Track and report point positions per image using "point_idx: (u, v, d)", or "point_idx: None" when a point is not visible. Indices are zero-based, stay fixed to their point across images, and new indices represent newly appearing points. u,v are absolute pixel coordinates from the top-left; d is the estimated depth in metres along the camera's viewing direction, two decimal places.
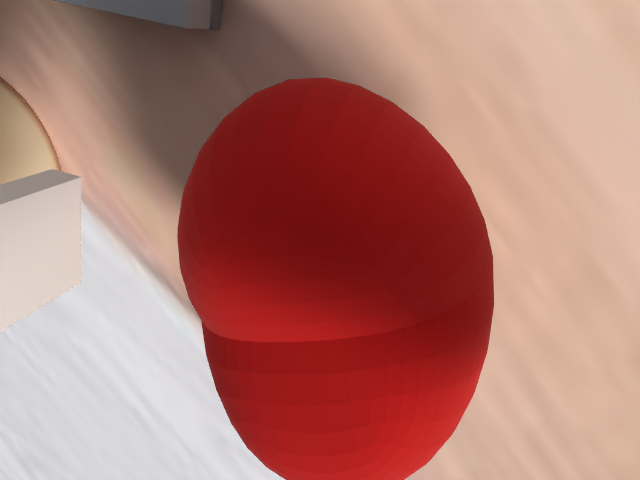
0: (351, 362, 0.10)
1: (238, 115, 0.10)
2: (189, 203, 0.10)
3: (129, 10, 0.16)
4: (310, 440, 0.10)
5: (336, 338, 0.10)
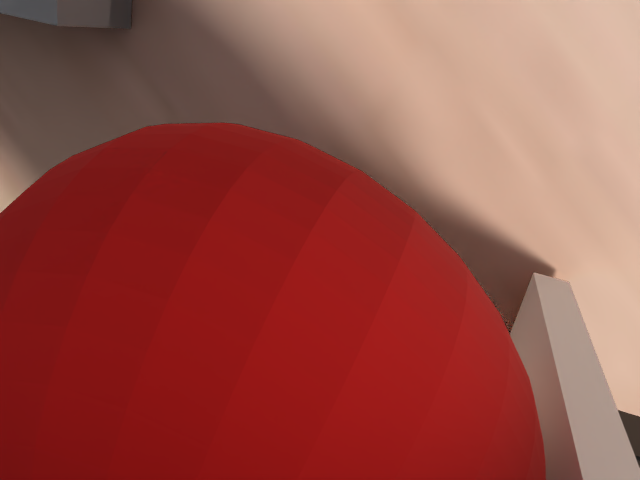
0: None
1: (3, 215, 0.04)
2: None
3: None
4: None
5: None
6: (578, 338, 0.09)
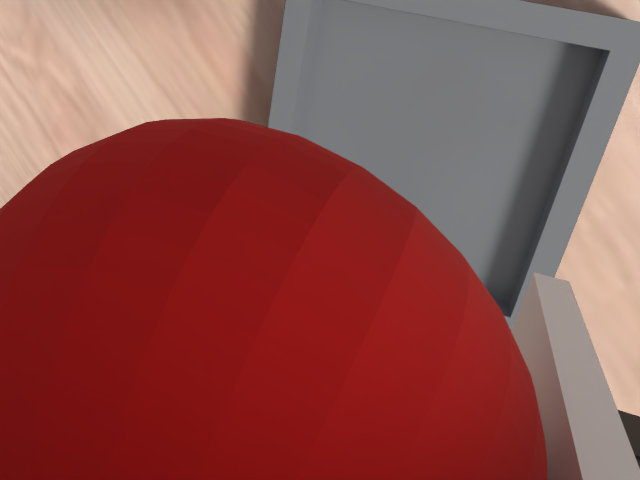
0: None
1: (3, 210, 0.04)
2: None
3: None
4: None
5: None
6: (578, 338, 0.09)
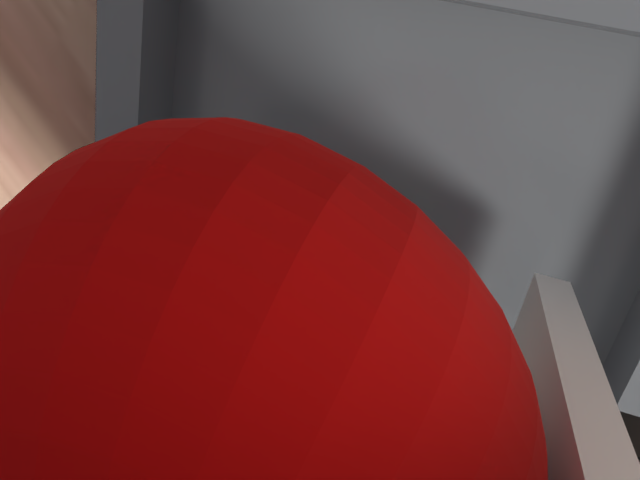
0: None
1: (7, 208, 0.04)
2: None
3: None
4: None
5: None
6: (580, 338, 0.09)
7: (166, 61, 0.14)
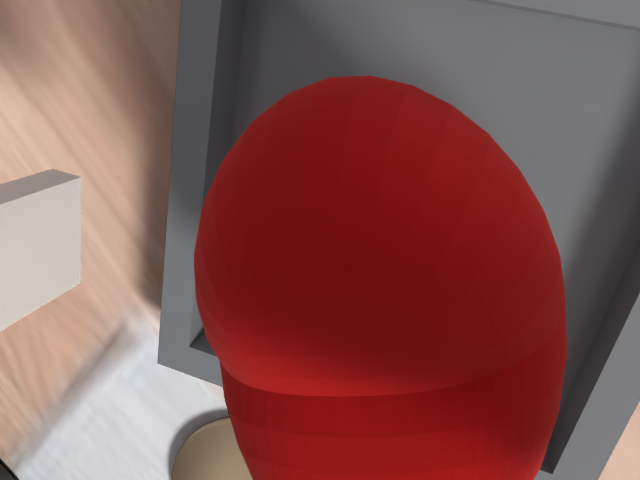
0: (409, 425, 0.08)
1: (270, 120, 0.08)
2: (211, 227, 0.08)
3: None
4: None
5: (389, 393, 0.08)
6: None
7: (234, 52, 0.16)
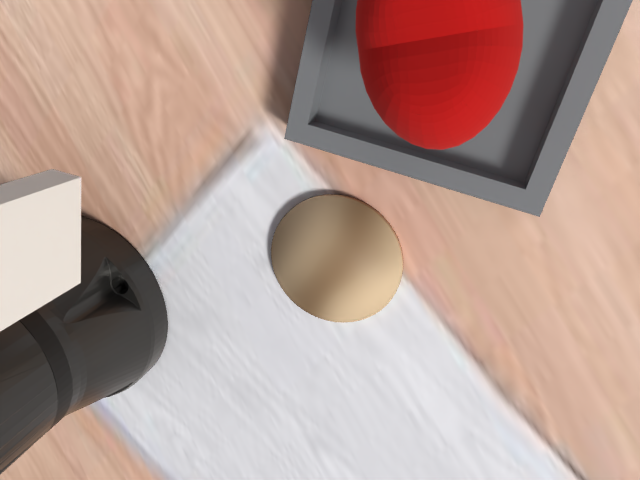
0: (450, 45, 0.20)
1: None
2: None
3: (507, 203, 0.29)
4: (426, 86, 0.20)
5: (443, 35, 0.20)
6: None
7: None
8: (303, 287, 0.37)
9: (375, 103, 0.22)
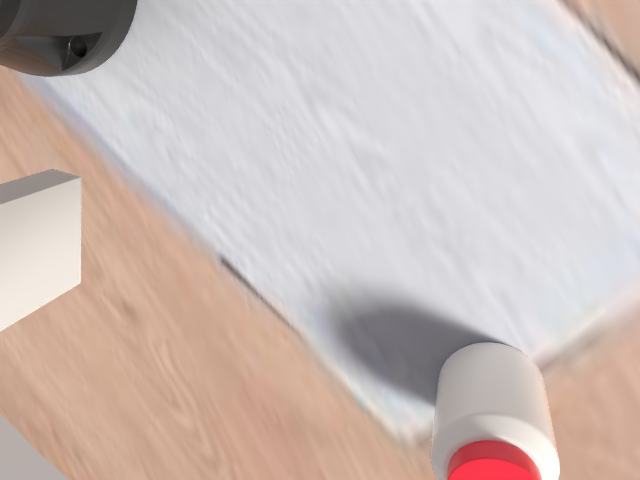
0: None
1: None
2: None
3: None
4: None
5: None
6: None
7: None
8: None
9: None
